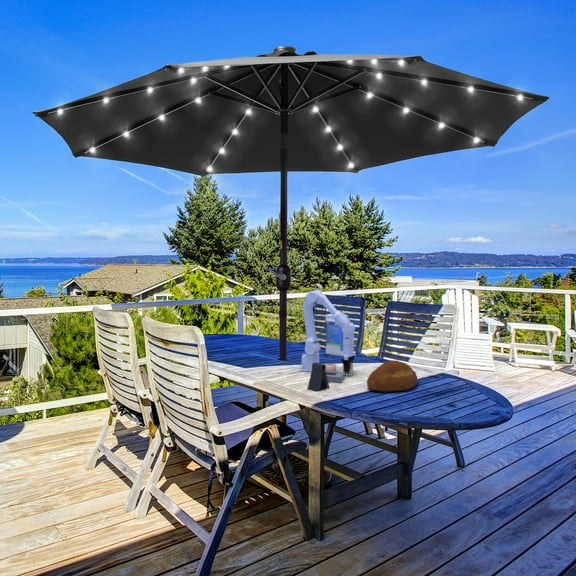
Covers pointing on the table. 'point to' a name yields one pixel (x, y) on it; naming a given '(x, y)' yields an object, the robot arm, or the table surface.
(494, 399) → the table surface
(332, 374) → the socket block
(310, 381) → the phone stand
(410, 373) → the bread
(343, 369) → the square peg
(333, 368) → the round peg
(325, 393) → the table surface
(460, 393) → the table surface
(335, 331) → the string lights box
